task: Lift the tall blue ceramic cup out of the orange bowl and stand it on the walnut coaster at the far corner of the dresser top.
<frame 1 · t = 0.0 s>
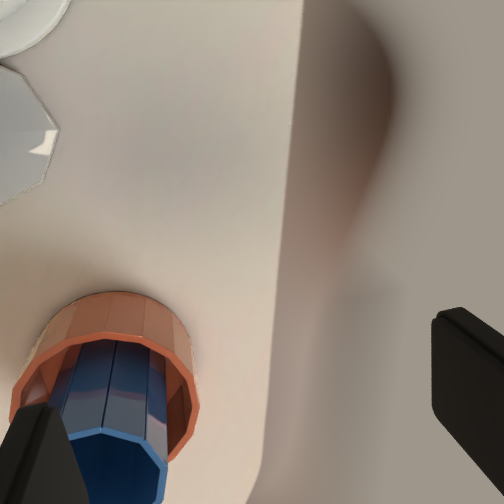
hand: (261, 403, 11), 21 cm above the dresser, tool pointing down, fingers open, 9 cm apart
orange bowl: (116, 360, 33), on the dresser
blue cup: (116, 364, 33), point 1 cm above the dresser, touching orange bowl
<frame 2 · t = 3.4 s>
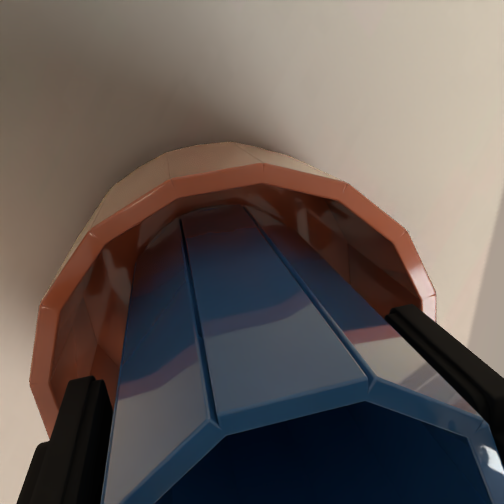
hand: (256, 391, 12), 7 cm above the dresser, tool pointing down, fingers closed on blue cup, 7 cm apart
orange bowl: (222, 285, 18), on the dresser
blue cup: (224, 291, 17), point 1 cm above the dresser, touching gripper, orange bowl
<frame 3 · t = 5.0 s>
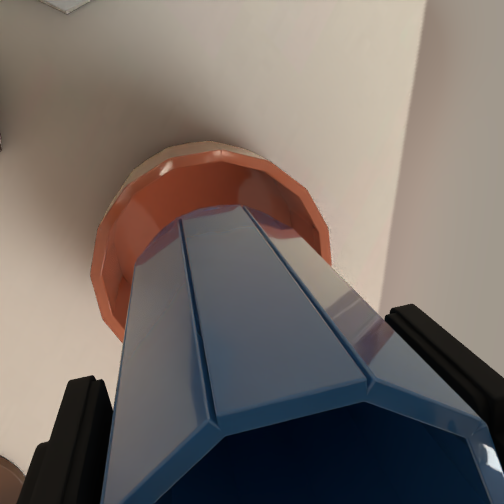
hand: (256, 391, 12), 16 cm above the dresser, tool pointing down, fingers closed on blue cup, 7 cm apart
orange bowl: (205, 238, 27), on the dresser
blue cup: (224, 291, 17), point 10 cm above the dresser, touching gripper
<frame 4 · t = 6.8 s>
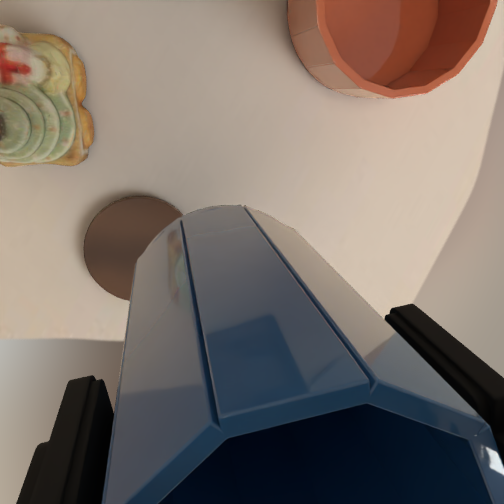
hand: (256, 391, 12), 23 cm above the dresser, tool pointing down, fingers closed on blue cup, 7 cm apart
cucumber toast: (43, 100, 29), on the dresser
coaster: (142, 249, 34), on the dresser
orange bowl: (365, 10, 31), on the dresser
blue cup: (225, 292, 17), point 17 cm above the dresser, touching gripper
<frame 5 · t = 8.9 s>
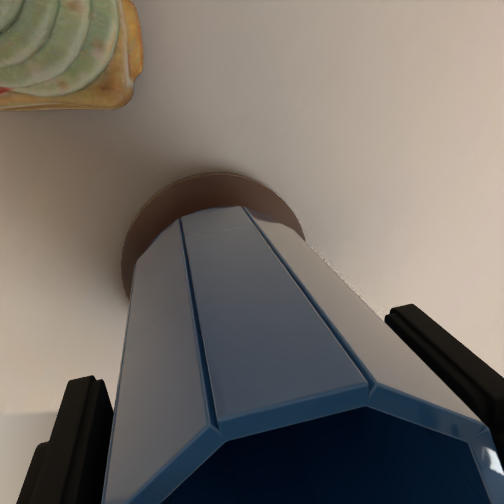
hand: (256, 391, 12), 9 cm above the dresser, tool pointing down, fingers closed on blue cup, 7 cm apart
coaster: (216, 263, 20), on the dresser
blue cup: (224, 293, 17), point 3 cm above the dresser, touching gripper
when the fingers open (7 cm above the dresser, at t = 10.2 s): blue cup stays where it is, resting on coaster.
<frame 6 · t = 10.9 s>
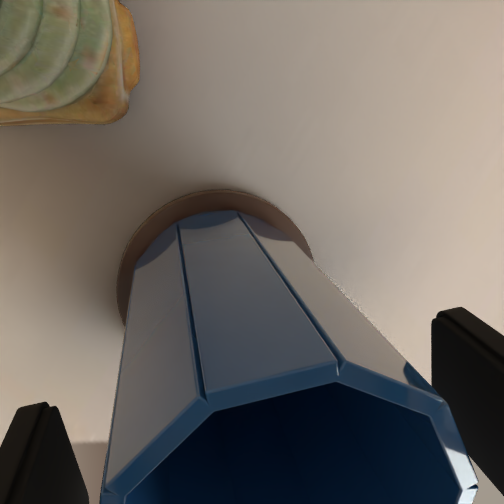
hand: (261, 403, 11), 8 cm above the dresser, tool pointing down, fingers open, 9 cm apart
cucumber toast: (40, 0, 15), on the dresser
coaster: (218, 285, 19), on the dresser
blue cup: (219, 293, 18), point 1 cm above the dresser, touching coaster
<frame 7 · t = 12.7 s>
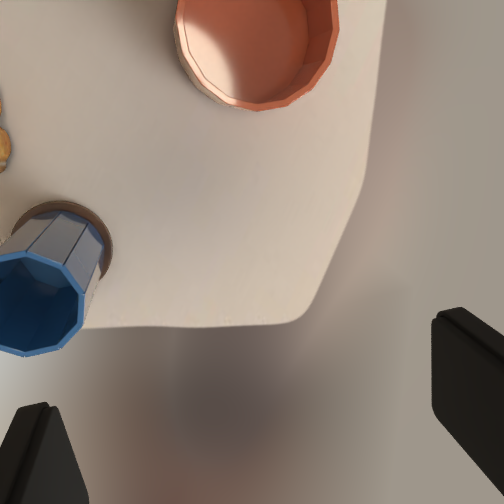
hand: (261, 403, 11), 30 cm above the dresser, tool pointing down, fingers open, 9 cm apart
coaster: (63, 247, 39), on the dresser
orange bowl: (244, 35, 36), on the dresser
blue cup: (61, 250, 38), point 1 cm above the dresser, touching coaster
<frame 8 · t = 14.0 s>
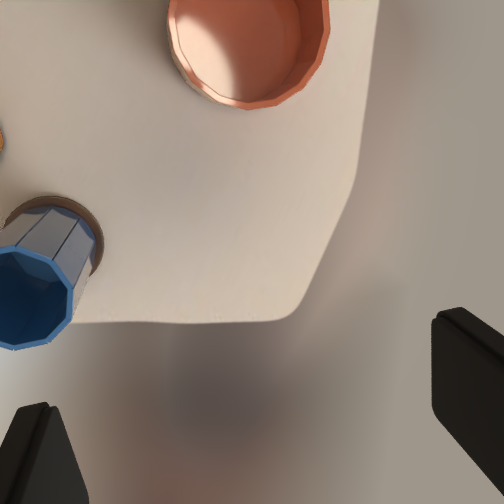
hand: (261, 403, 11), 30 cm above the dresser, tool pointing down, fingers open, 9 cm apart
coaster: (55, 242, 39), on the dresser
orange bowl: (237, 34, 36), on the dresser
blue cup: (53, 245, 38), point 1 cm above the dresser, touching coaster
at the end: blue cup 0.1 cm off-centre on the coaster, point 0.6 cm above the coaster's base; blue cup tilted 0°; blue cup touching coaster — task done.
